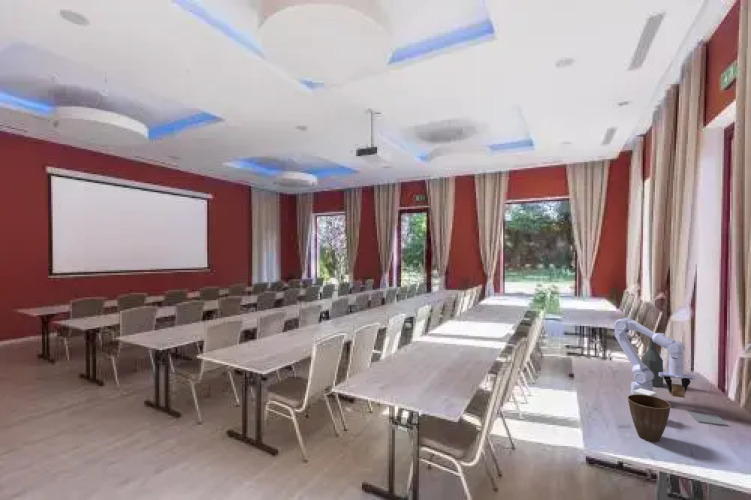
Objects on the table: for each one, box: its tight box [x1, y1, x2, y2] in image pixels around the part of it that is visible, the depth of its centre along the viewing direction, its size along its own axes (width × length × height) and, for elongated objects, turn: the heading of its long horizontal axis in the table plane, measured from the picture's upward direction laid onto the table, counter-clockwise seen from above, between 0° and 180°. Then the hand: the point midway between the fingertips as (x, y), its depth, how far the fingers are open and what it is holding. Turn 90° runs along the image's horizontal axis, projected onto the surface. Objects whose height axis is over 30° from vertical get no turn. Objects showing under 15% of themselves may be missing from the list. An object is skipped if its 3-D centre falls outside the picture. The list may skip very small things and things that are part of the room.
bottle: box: [641, 337, 664, 388], centre depth 225 cm, size 10×10×30 cm
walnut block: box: [668, 383, 686, 398], centre depth 190 cm, size 5×5×5 cm
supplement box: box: [633, 388, 658, 398], centre depth 181 cm, size 7×7×13 cm
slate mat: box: [688, 411, 729, 427], centre depth 178 cm, size 11×11×1 cm
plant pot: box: [627, 394, 671, 443], centre depth 161 cm, size 15×15×16 cm
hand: (676, 392), depth 190 cm, fingers closed on walnut block, 5 cm apart
